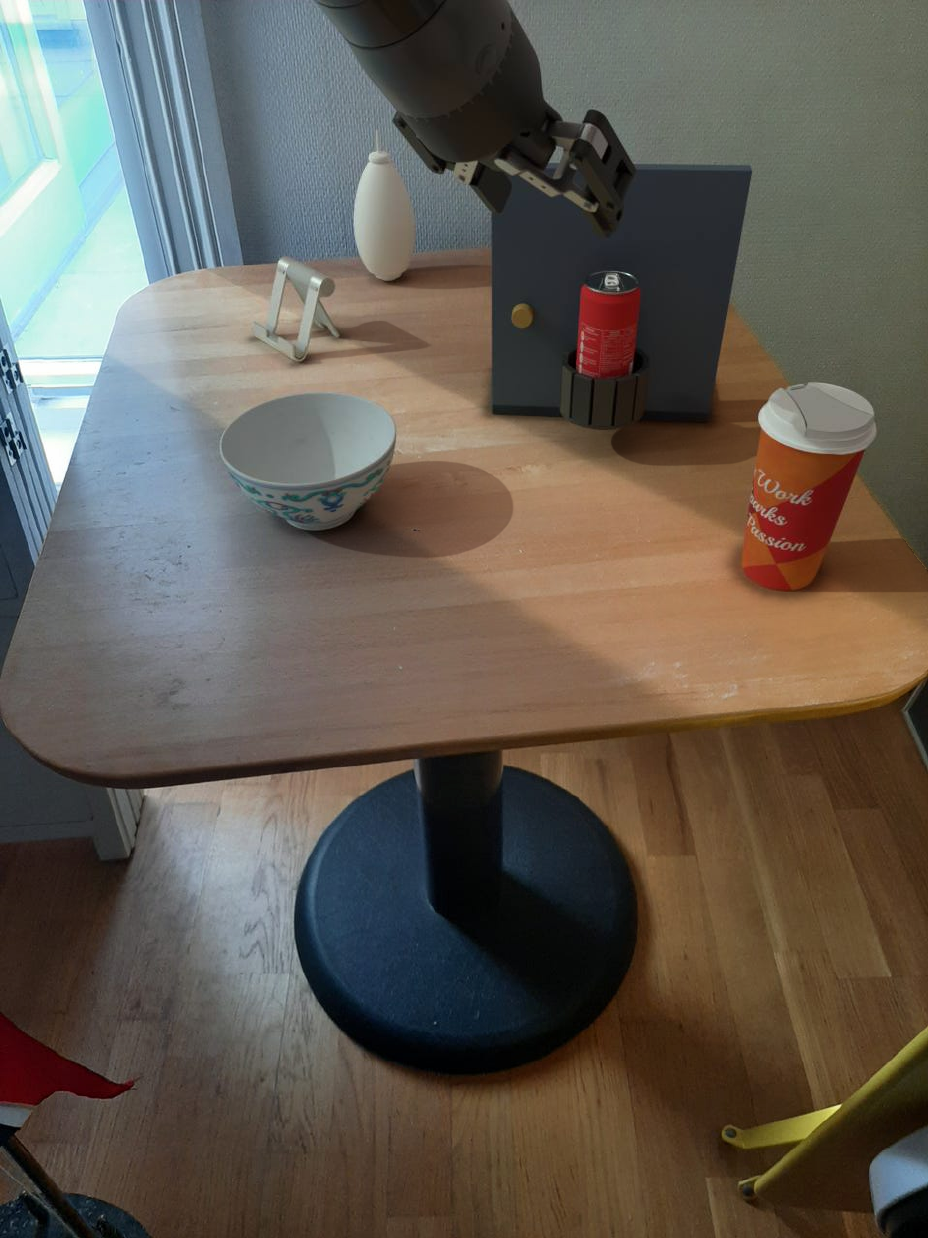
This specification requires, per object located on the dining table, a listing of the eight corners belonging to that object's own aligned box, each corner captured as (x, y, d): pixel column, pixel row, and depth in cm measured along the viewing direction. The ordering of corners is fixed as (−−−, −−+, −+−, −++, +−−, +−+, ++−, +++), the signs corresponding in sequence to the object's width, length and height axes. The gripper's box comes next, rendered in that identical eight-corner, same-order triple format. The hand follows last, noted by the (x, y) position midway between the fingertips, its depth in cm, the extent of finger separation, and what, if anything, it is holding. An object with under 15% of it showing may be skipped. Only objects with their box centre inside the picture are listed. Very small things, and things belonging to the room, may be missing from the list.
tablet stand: (254, 339, 110) (241, 269, 104) (309, 319, 113) (299, 251, 108) (294, 364, 105) (282, 292, 99) (350, 342, 108) (342, 272, 103)
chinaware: (314, 583, 76) (301, 507, 71) (202, 516, 83) (183, 442, 78) (436, 501, 84) (432, 427, 79) (324, 446, 92) (314, 375, 86)
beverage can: (573, 418, 86) (581, 293, 78) (573, 391, 90) (581, 268, 82) (629, 420, 86) (643, 294, 78) (627, 392, 89) (640, 269, 81)
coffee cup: (709, 548, 78) (740, 388, 68) (794, 529, 80) (837, 370, 70) (761, 611, 72) (804, 446, 62) (852, 589, 74) (908, 424, 64)
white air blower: (420, 287, 120) (412, 136, 107) (360, 292, 119) (345, 140, 107) (415, 264, 125) (406, 118, 113) (357, 268, 125) (343, 122, 113)
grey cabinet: (701, 377, 100) (740, 137, 84) (715, 472, 87) (765, 207, 71) (500, 370, 103) (500, 135, 86) (483, 461, 89) (480, 202, 73)
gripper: (593, -17, 43) (676, 176, 58) (365, -37, 50) (491, 141, 64) (527, 134, 44) (625, 288, 58) (310, 95, 50) (447, 242, 65)
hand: (555, 211), depth 61 cm, fingers open, 8 cm apart
